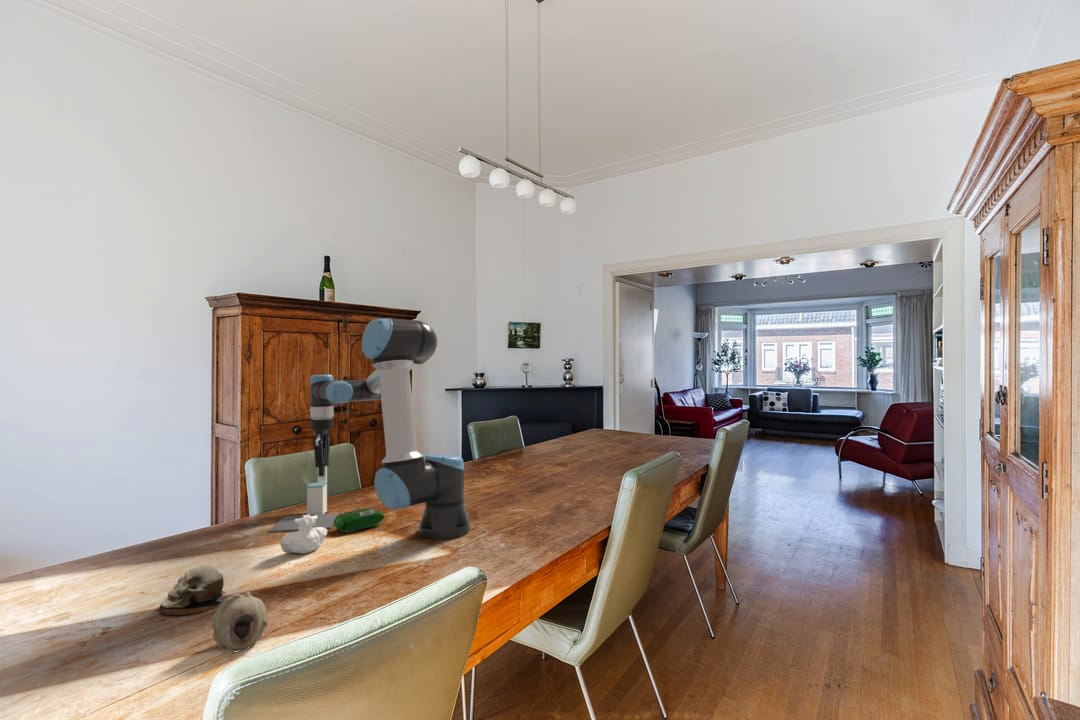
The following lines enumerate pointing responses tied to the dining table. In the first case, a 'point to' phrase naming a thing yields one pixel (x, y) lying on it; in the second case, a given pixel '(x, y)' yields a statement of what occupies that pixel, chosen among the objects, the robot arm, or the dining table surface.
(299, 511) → the dining table surface
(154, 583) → the dining table surface
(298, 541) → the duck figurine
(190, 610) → the skull
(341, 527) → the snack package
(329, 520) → the rubber mat
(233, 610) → the grey-brown rounded hollow piece
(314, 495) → the tall block
